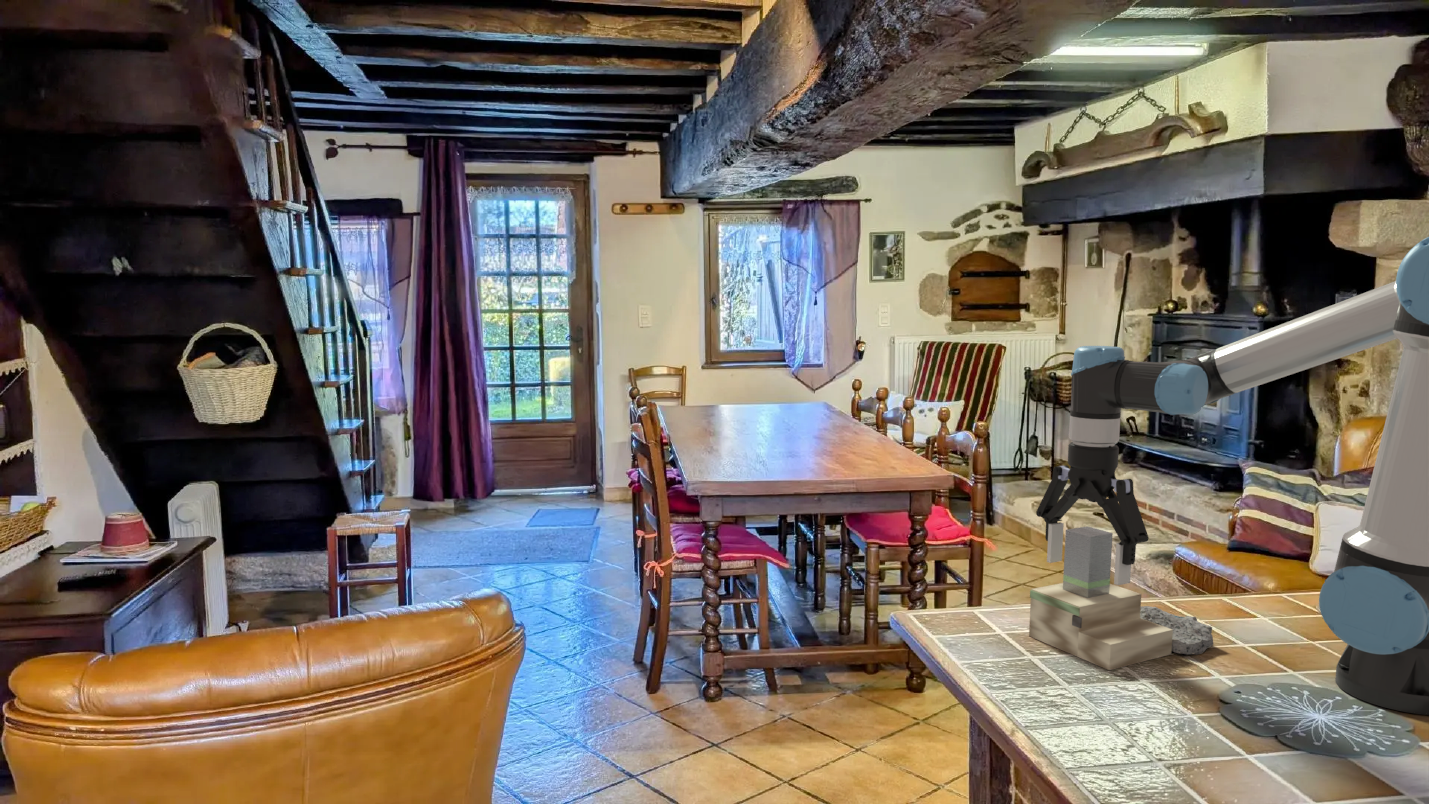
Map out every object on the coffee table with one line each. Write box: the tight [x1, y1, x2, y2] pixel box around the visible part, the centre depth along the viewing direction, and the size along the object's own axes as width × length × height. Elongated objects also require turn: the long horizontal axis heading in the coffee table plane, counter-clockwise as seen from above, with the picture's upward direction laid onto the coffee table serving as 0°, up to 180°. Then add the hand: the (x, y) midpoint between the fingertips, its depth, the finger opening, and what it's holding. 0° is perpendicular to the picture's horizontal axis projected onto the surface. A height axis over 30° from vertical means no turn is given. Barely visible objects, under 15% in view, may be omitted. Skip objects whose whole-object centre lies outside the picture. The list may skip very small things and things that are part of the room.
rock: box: [1140, 605, 1214, 656], centre depth 156 cm, size 13×10×5 cm
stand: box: [1028, 582, 1173, 671], centre depth 154 cm, size 16×14×8 cm
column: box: [1062, 526, 1114, 598], centre depth 155 cm, size 5×5×10 cm
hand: (1086, 572), depth 156 cm, fingers open, 13 cm apart
